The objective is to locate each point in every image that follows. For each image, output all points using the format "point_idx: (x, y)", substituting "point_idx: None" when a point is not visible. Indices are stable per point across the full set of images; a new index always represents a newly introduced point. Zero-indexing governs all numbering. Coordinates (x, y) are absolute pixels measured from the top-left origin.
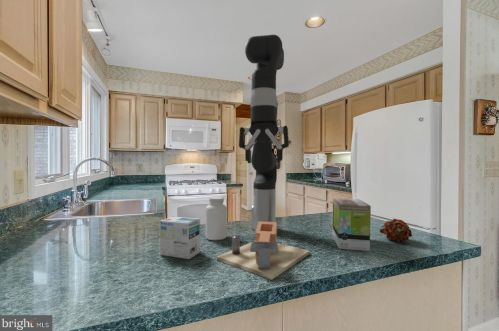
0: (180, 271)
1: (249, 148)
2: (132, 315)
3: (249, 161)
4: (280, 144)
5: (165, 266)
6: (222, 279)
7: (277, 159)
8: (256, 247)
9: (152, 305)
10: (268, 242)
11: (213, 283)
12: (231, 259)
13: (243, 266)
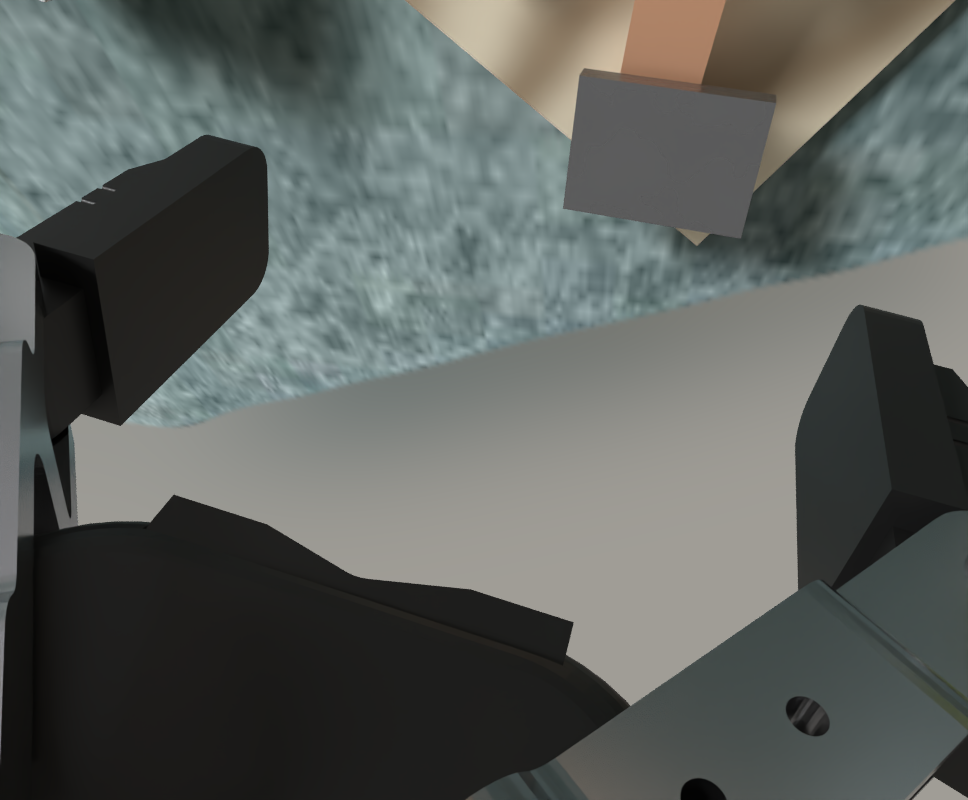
0: (235, 122)
1: (69, 416)
2: (246, 403)
3: (247, 289)
4: (913, 798)
5: (133, 58)
6: (456, 215)
7: (803, 475)
8: (603, 202)
9: (271, 366)
10: (700, 106)
11: (424, 247)
12: (465, 18)
13: (548, 119)
